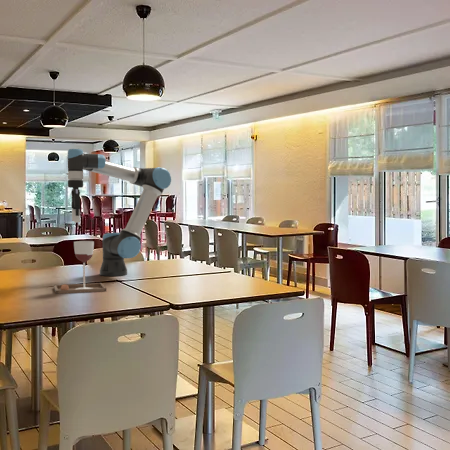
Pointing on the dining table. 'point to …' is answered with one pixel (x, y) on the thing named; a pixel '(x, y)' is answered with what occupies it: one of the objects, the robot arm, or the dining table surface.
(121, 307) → the dining table surface
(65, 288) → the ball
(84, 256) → the wineglass
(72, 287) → the tray
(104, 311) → the dining table surface
